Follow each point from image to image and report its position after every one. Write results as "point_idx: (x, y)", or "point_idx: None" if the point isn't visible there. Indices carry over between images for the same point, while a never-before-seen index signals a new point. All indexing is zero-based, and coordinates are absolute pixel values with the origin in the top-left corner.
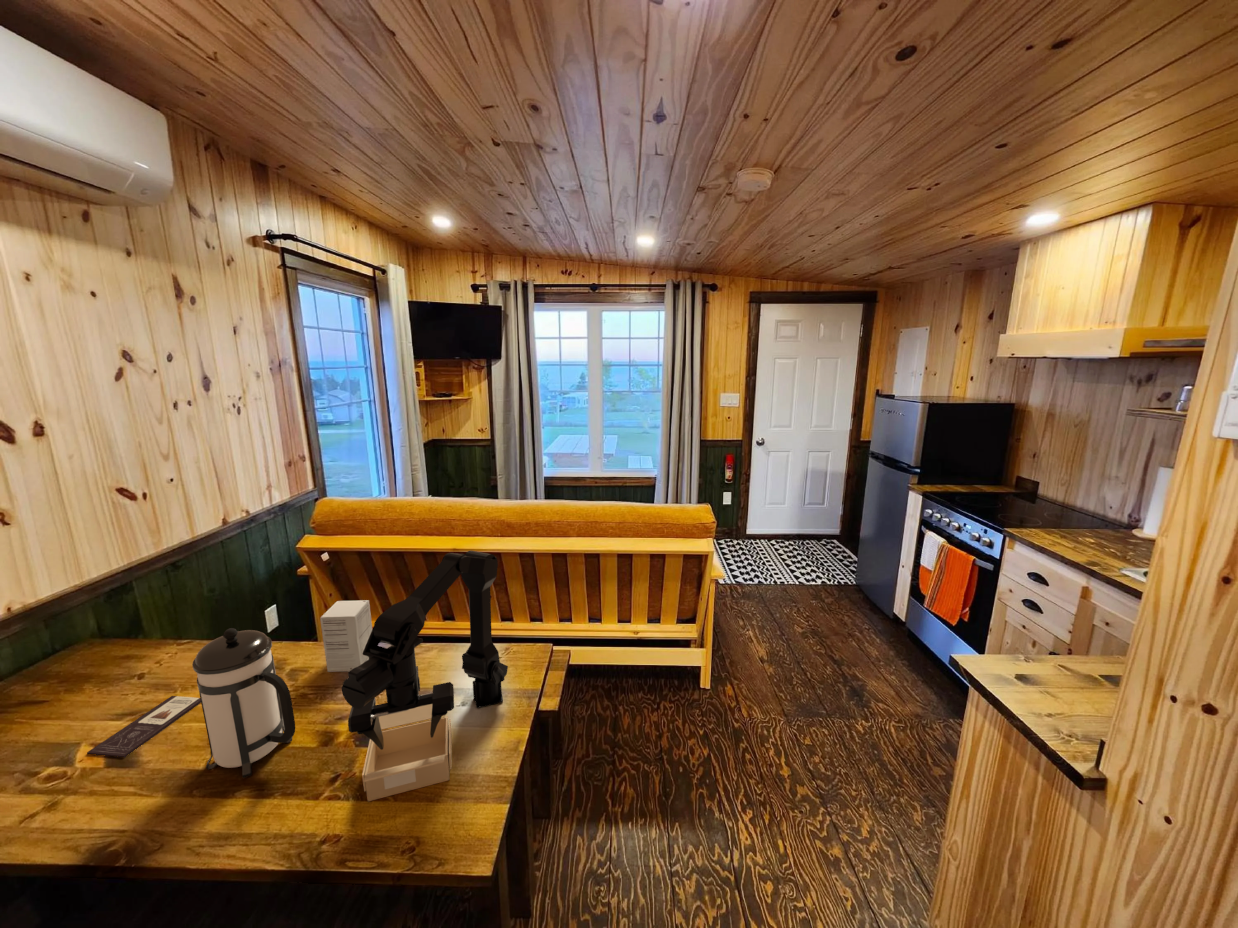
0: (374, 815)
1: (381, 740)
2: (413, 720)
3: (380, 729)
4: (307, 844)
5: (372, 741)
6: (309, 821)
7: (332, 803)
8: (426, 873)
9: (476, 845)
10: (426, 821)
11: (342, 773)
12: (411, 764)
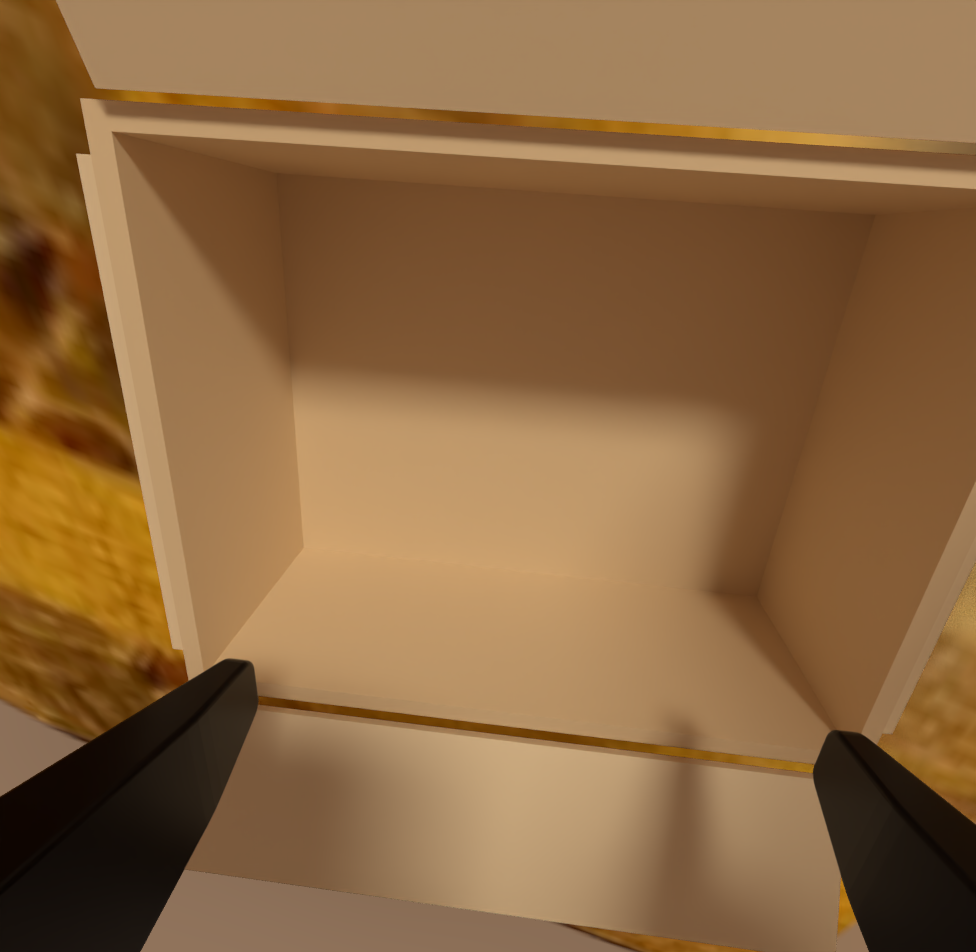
0: None
1: (175, 841)
2: (624, 88)
3: (38, 907)
4: (84, 661)
5: (125, 282)
6: (29, 549)
7: (100, 484)
8: (574, 926)
9: None
10: None
11: (60, 248)
12: (553, 798)
